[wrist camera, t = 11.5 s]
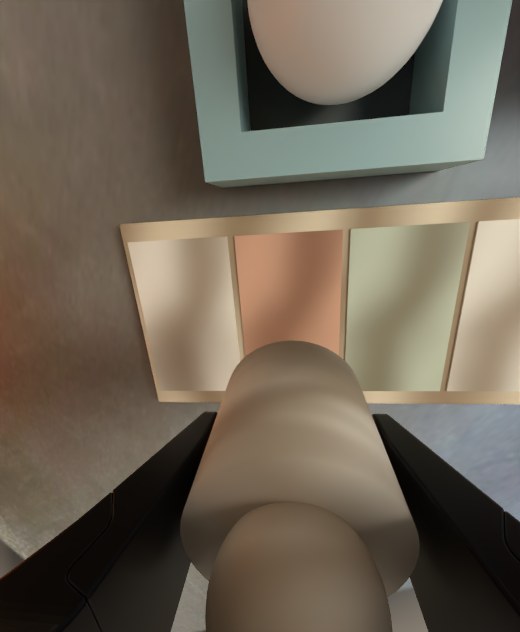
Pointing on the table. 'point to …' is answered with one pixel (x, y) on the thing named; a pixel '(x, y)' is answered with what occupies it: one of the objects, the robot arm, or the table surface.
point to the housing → (351, 136)
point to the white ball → (338, 43)
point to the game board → (338, 297)
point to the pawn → (297, 501)
